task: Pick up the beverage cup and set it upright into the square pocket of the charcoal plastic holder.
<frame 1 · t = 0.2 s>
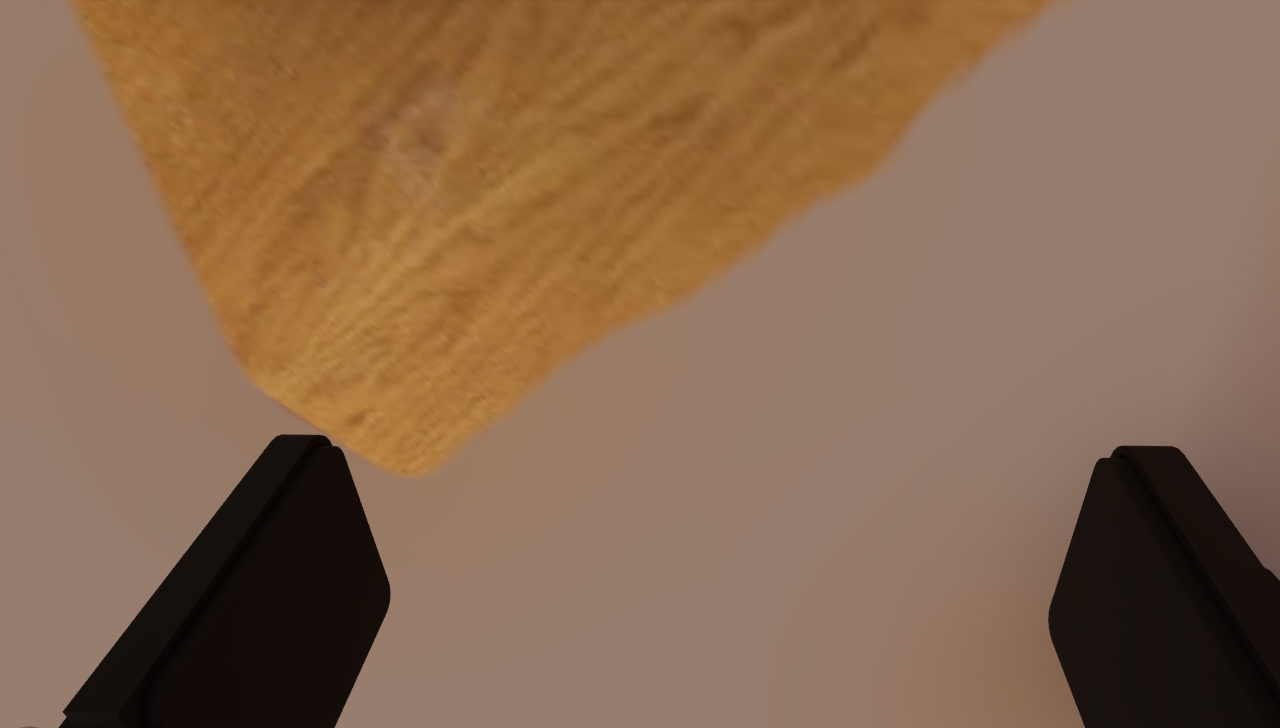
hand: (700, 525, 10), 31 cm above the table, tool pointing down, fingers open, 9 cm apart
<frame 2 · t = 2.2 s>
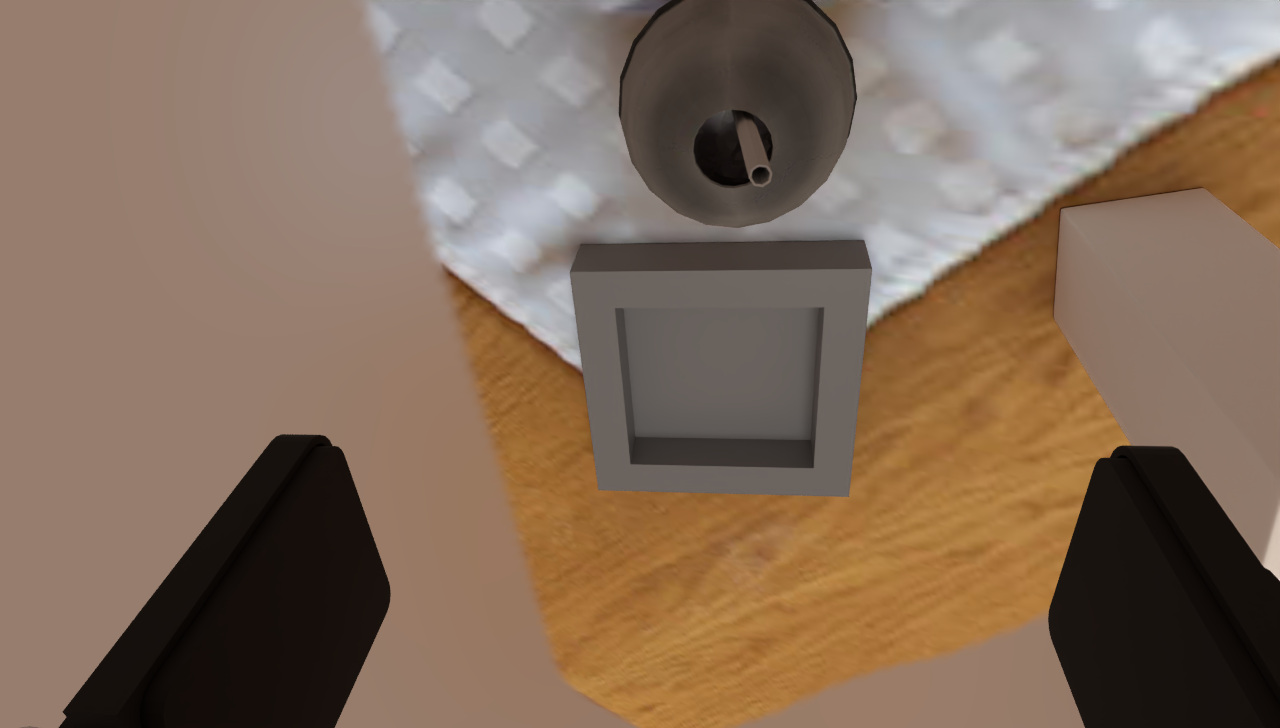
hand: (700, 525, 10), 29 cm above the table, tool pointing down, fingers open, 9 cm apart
holder: (721, 360, 44), on the table
milk: (1122, 254, 38), on the table
beverage cup: (739, 26, 34), on the table
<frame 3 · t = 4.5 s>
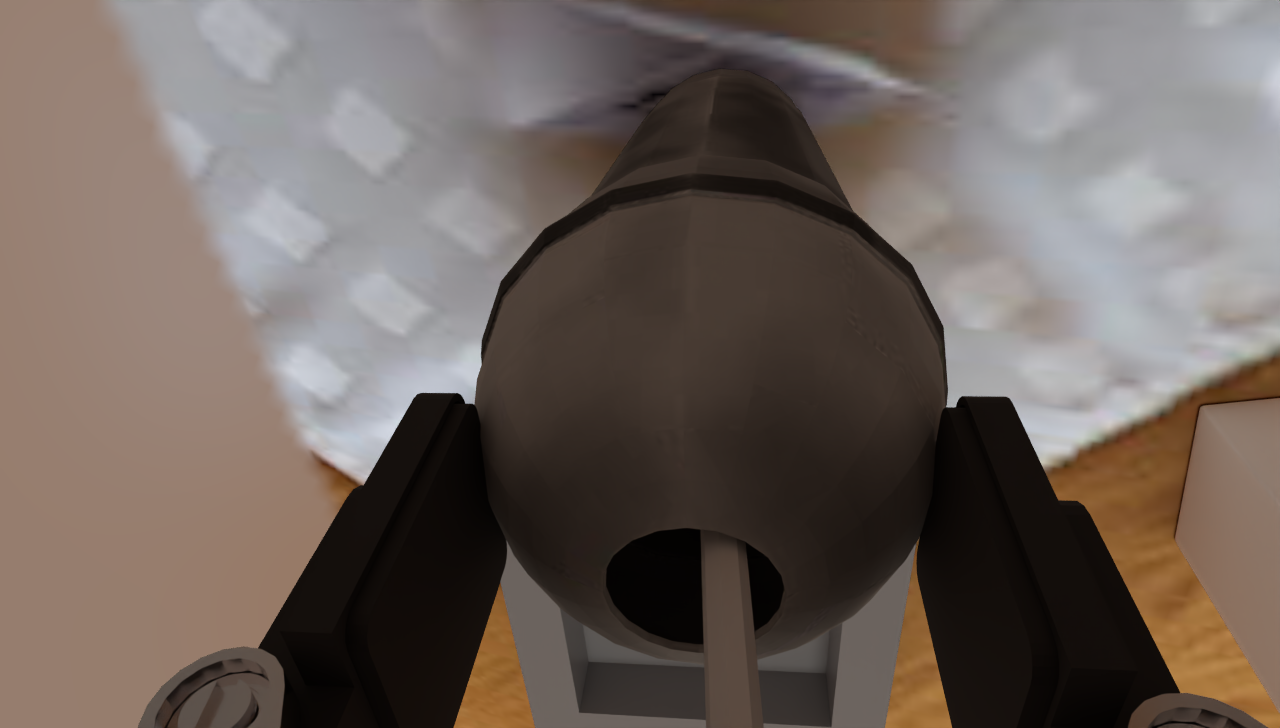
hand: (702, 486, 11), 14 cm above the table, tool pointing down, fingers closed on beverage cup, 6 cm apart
holder: (702, 575, 32), on the table
beverage cup: (724, 150, 22), on the table, touching gripper
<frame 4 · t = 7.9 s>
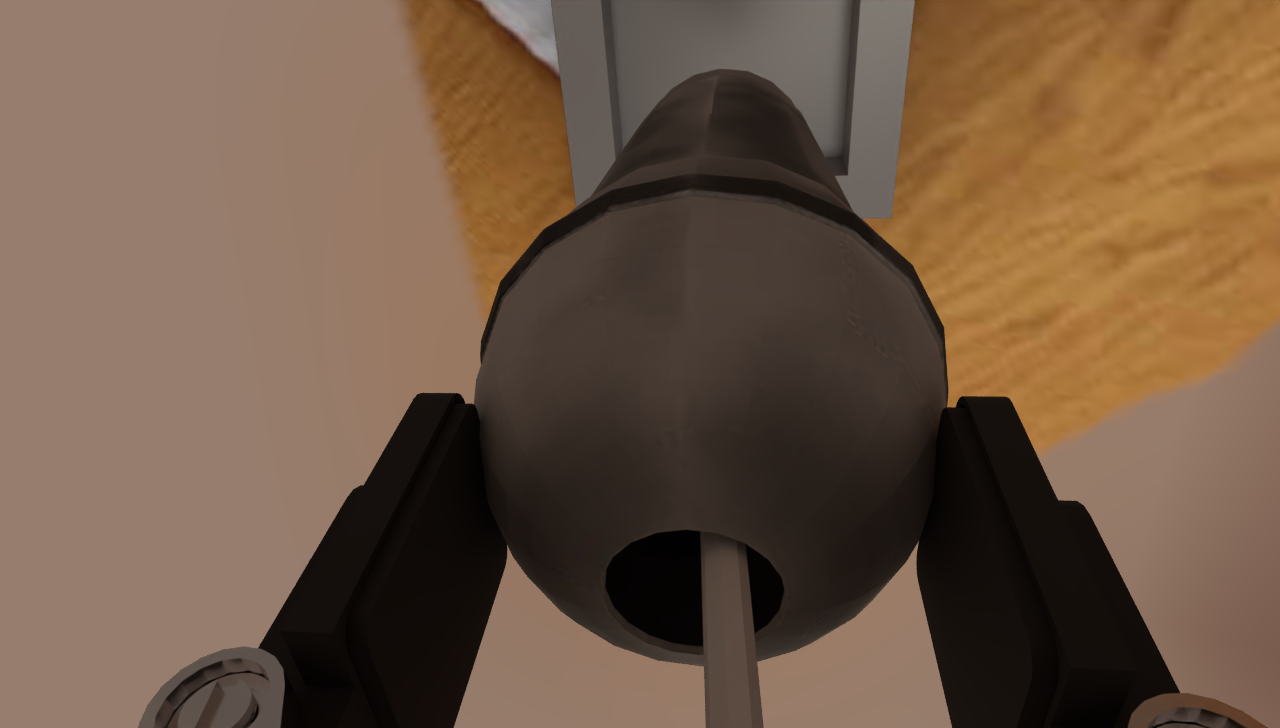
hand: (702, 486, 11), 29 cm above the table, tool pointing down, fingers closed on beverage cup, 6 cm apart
holder: (730, 43, 35), on the table
beverage cup: (723, 150, 22), point 15 cm above the table, touching gripper
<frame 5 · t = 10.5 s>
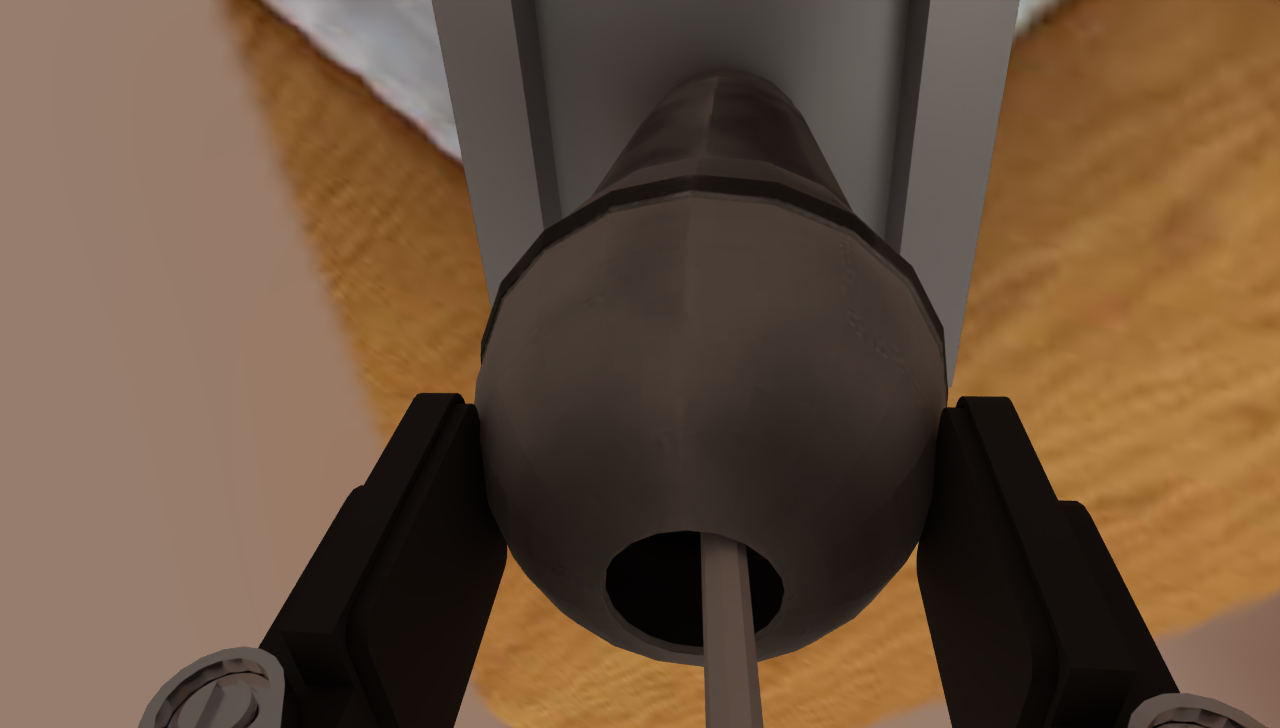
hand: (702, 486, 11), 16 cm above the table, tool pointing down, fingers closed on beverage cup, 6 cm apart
holder: (720, 137, 24), on the table
beverage cup: (723, 150, 22), point 2 cm above the table, touching gripper
when the fingers open (16 cm above the table, at t = 11.2 s): beverage cup drops 1 cm, resting on holder.
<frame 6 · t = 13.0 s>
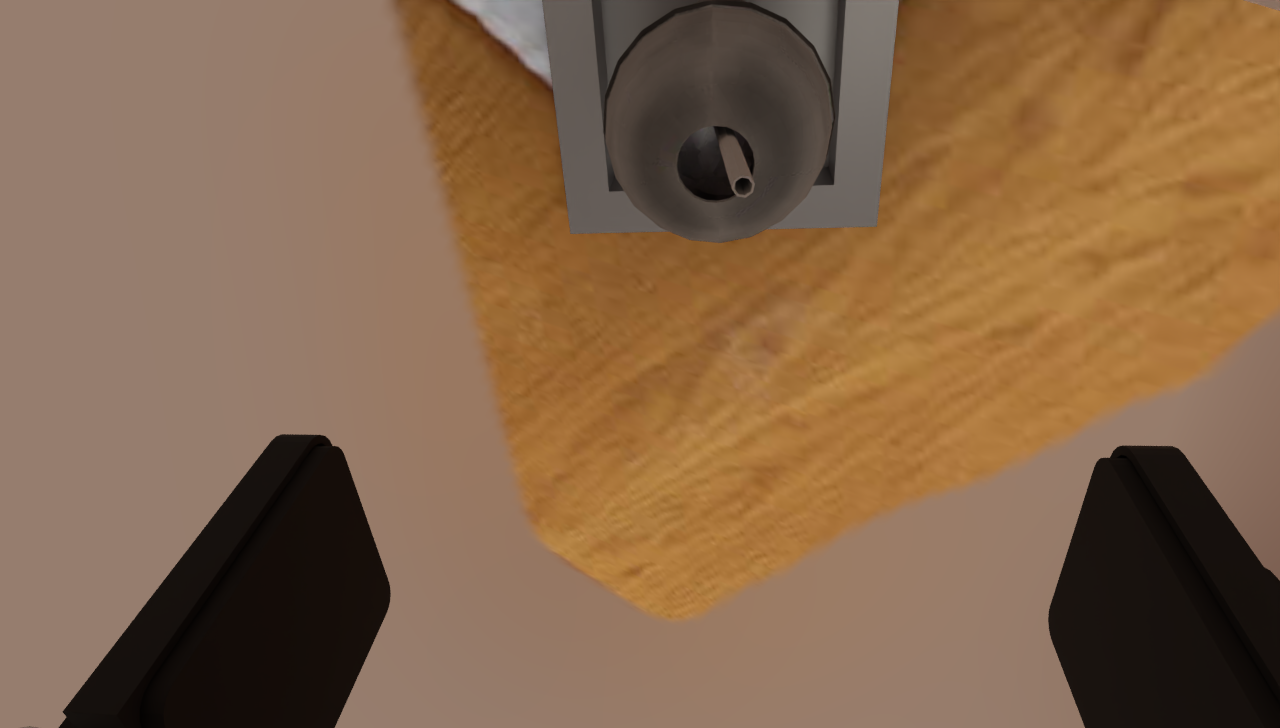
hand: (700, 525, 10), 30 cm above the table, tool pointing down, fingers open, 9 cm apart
holder: (719, 56, 36), on the table
beverage cup: (720, 50, 35), resting on holder
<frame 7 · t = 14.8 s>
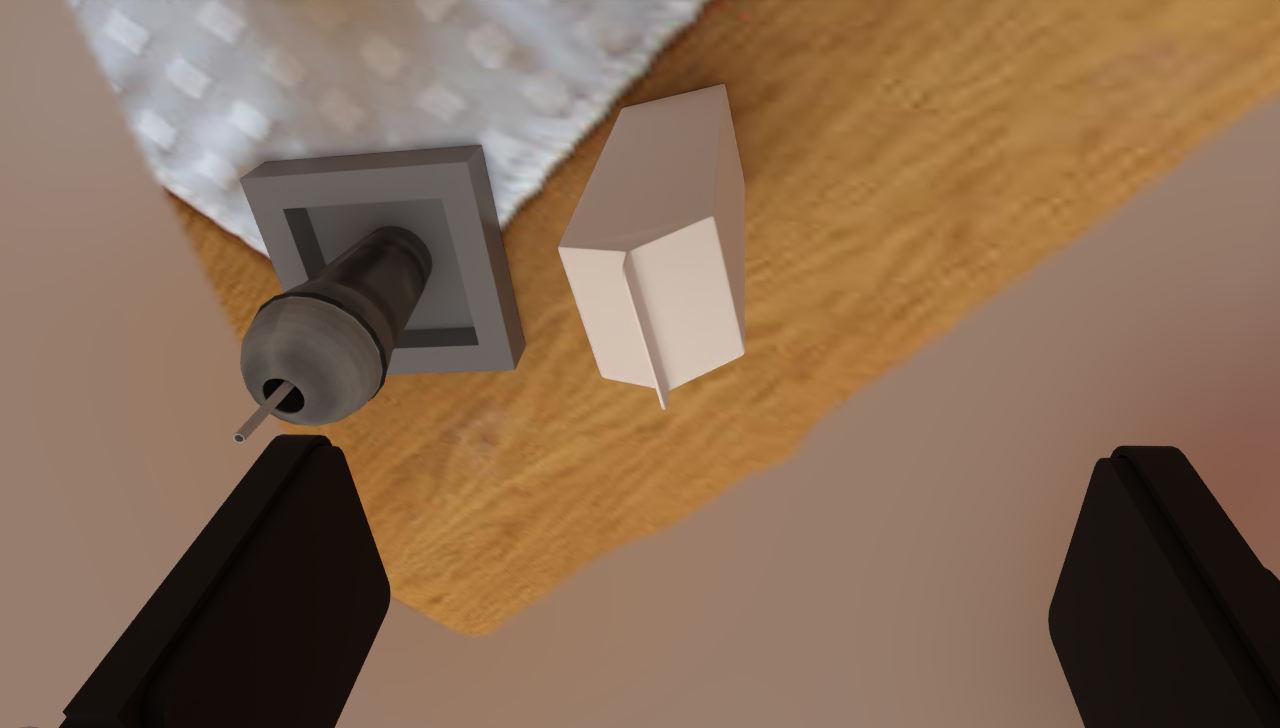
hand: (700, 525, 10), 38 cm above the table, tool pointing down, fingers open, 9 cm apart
holder: (401, 258, 52), on the table
milk: (684, 145, 46), on the table
beverage cup: (399, 256, 52), resting on holder
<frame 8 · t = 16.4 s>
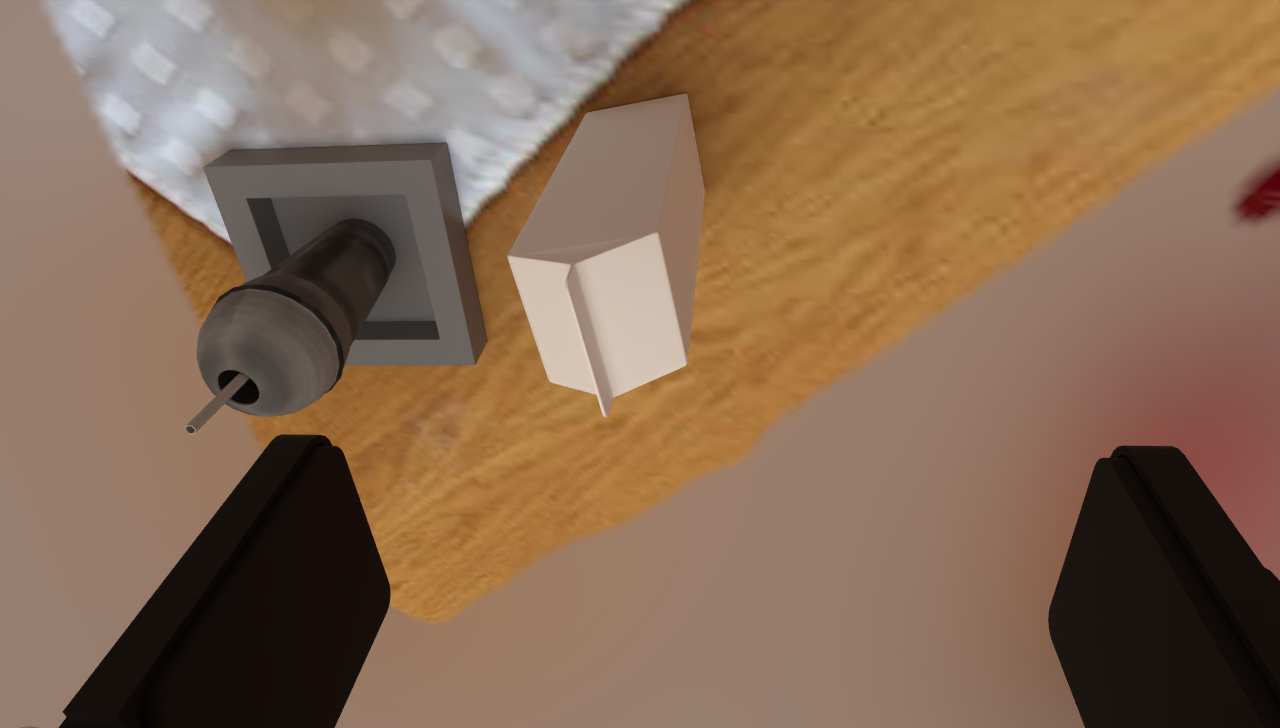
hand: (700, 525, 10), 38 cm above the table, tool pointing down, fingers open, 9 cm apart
holder: (365, 251, 53), on the table
milk: (647, 151, 47), on the table
beverage cup: (363, 249, 52), resting on holder
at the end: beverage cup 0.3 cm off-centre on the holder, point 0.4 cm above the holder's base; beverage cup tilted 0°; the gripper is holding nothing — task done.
